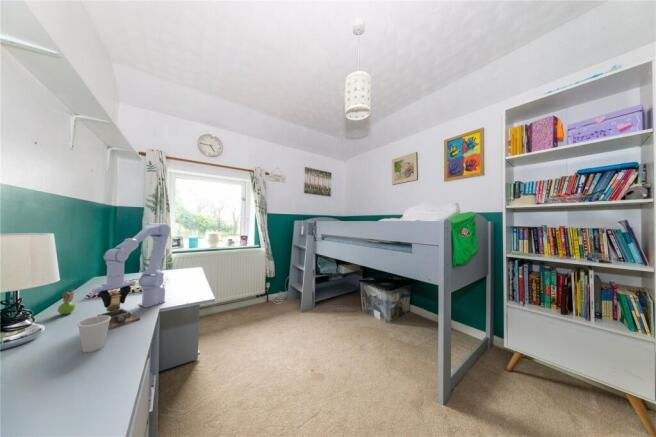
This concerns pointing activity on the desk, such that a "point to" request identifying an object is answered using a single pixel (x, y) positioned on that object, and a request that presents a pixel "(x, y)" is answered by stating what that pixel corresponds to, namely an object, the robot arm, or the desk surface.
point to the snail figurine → (67, 303)
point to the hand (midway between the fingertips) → (114, 304)
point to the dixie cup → (93, 332)
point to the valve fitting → (114, 301)
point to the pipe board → (128, 320)
